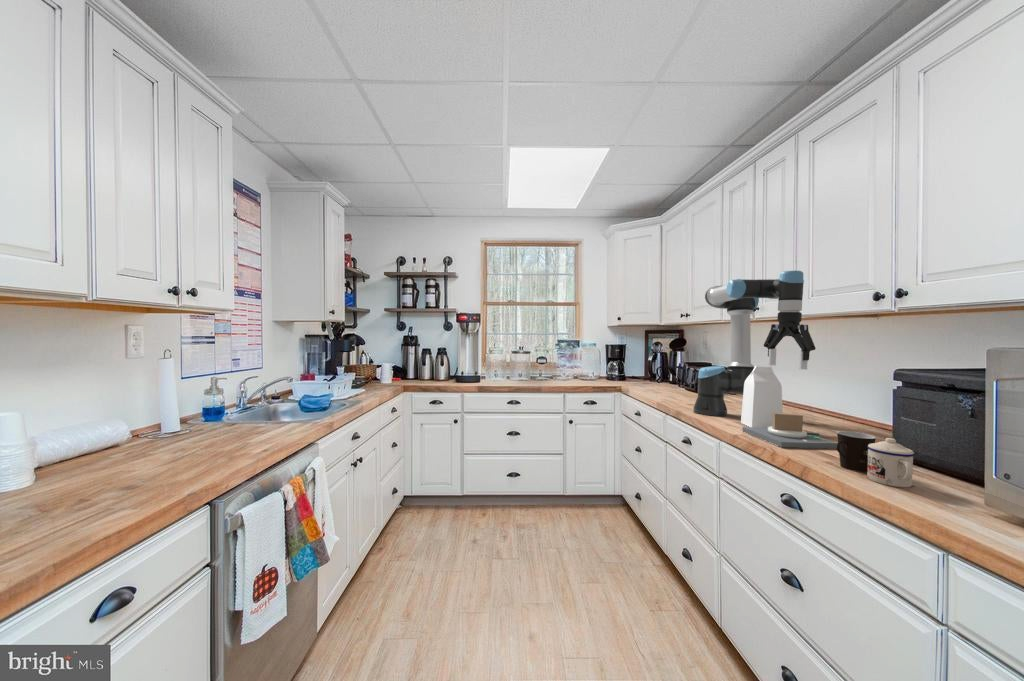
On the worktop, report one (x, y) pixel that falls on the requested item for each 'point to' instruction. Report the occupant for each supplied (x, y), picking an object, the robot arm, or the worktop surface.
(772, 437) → the dial board
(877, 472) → the teacup with lid
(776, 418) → the dial
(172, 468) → the worktop surface
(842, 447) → the coffee mug
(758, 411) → the milk
